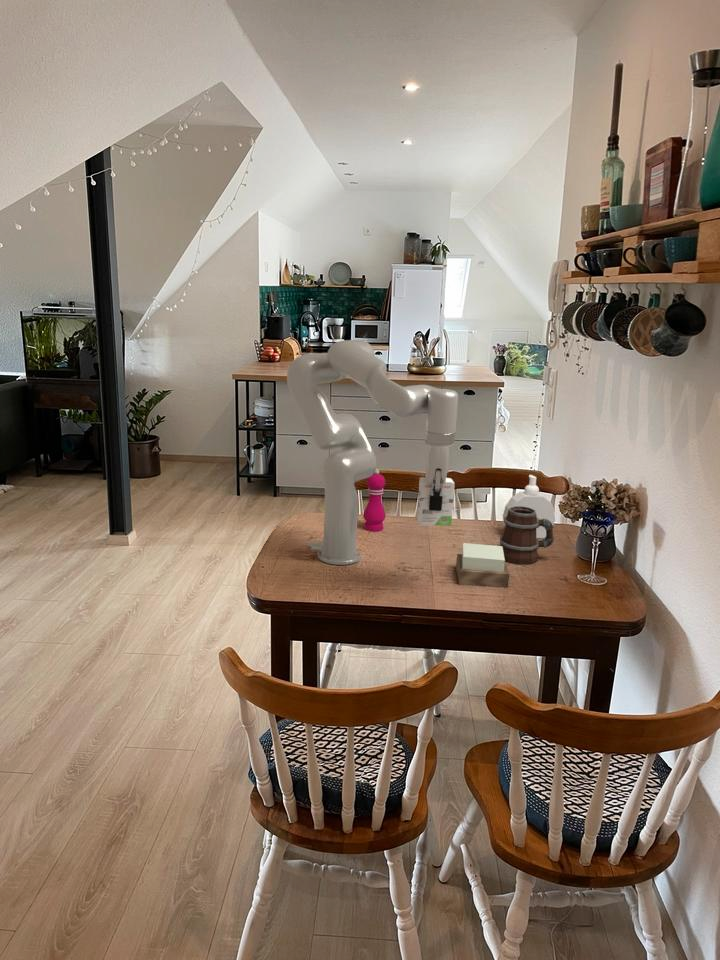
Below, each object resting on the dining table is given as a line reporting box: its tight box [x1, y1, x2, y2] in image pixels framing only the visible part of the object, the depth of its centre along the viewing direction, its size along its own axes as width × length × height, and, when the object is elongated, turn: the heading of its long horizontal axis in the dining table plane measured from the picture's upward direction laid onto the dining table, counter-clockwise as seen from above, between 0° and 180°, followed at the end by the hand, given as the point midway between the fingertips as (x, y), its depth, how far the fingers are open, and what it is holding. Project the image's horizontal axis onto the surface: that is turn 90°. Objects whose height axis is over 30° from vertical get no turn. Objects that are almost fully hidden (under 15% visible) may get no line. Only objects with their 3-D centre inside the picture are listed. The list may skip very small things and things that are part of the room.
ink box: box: [416, 476, 455, 527], centre depth 190 cm, size 9×5×12 cm, turn 93°
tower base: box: [455, 553, 510, 589], centre depth 204 cm, size 13×13×4 cm
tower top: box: [461, 542, 506, 572], centre depth 203 cm, size 11×11×4 cm
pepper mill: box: [362, 468, 386, 532], centre depth 238 cm, size 7×7×20 cm
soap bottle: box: [502, 474, 556, 539], centre depth 238 cm, size 16×5×20 cm, turn 97°
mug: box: [499, 506, 555, 565], centre depth 218 cm, size 16×12×15 cm
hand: (434, 506), depth 191 cm, fingers closed on ink box, 5 cm apart
